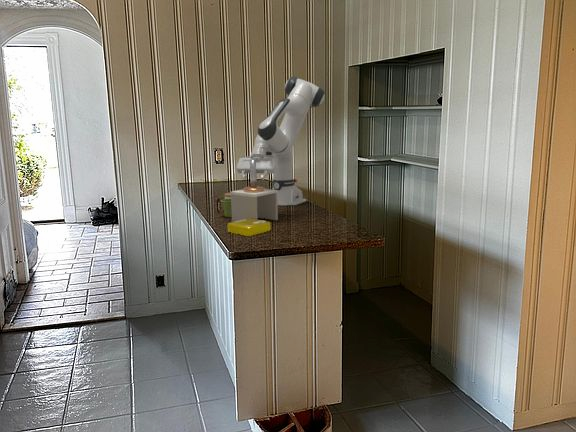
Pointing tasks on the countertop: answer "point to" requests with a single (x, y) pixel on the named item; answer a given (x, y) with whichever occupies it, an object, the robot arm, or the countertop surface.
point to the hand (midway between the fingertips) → (253, 179)
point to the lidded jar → (227, 195)
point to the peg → (253, 180)
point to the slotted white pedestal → (254, 205)
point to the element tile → (249, 227)
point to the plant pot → (227, 207)
